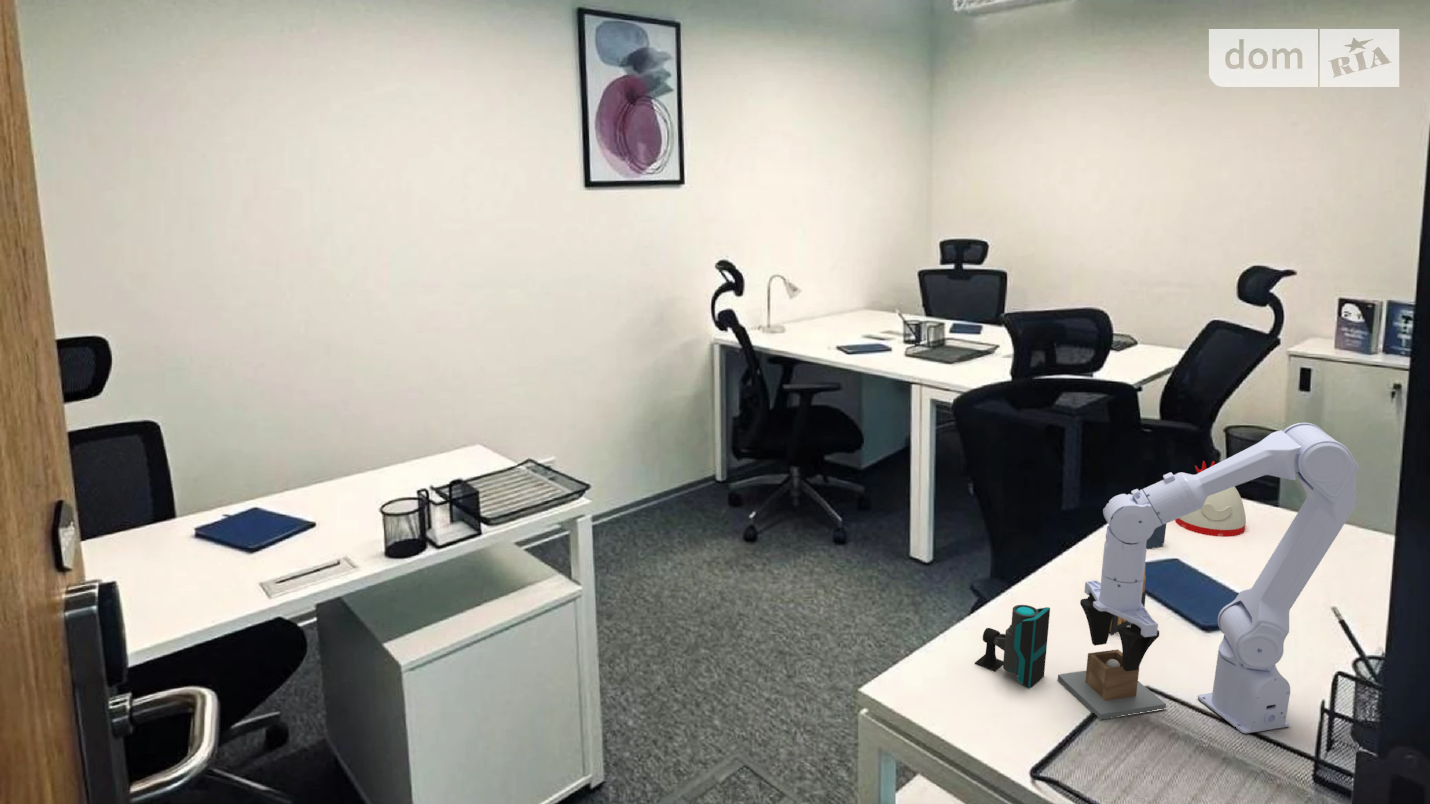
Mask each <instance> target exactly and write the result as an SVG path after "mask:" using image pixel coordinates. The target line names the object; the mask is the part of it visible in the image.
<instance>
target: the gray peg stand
mask: <svg viewBox="0 0 1430 804" xmlns="http://www.w3.org/2000/svg"><path fill="white" fill-rule="evenodd" d="M1106 665H1107V666H1108V667H1109V668H1114V667H1120V664H1119V662H1118V661H1117V660H1115V659H1110V660H1108V661H1107V662H1106ZM1085 679H1086V670H1081V671H1074V672H1068V673H1067V672H1066V673H1061V674H1057V681H1058V683H1059V684H1061V685H1062V686H1063V687H1064V688H1066V690H1067V691H1068V692H1069V693H1071V695H1073V696H1074V697H1075V698H1076V699H1077V700H1078V701H1079V702H1080V703H1081V704H1083V706H1084V707H1085V708H1087V710H1089V711H1090V712H1091V713H1092V714H1093V713H1095V715H1097V717H1098V718H1099V719H1105V720H1109V719H1108V718H1111V717H1117V716H1121V715H1128V714H1133V713H1140V712H1147V711H1152V710H1157V709H1164V708H1166V707H1167V703H1166V702H1165V701H1163V700H1162V699H1161V698H1159V696H1158V695H1156V694H1155V693H1153V692H1152V691H1151V690H1150V689H1148V688H1147V686H1145V685H1144V684H1143V683H1141V682H1140V681H1139V680H1138V684H1137V693H1136V696H1134V697H1127V698H1120V699H1113V700H1106V701H1105V700H1104V699H1103V698H1102V697H1101V696H1100V695H1099V694H1098V693H1097V692H1096V691H1094V690H1093V689H1092V688H1091V687H1090V686H1089V685H1088V684H1087V683H1086V682H1085ZM1095 715H1094V716H1095ZM1097 717H1096V718H1097ZM1098 718H1097V719H1098ZM1117 718H1118V717H1117ZM1099 719H1098V720H1099ZM1111 719H1112V718H1111Z"/></svg>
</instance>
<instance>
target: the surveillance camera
mask: <svg viewBox="0 0 1430 804" xmlns="http://www.w3.org/2000/svg"><path fill="white" fill-rule="evenodd" d="M1011 611H1012V612H1011V624H1010V625H1009V627H1008V628H1006V630H1005V632H1004V633H1001V631H999V630H996V629H993V628H991V627H986V628H985V629H984V631H983V633H982V641H983V642H984V643H986V648H985V654H983V656H981V657H980V658H978V659H977V660H976V661H975V662H974V665H976V666H979V667H981V668H984V669H986V670H989V671H991V672H993V673H994V672H997V670H999V669H1000V668H1001V667H1002V668H1003V671H1005V672H1007V673H1010V674H1012V675H1015V676H1016V677H1017V682H1018V683H1020V684H1021V685H1023V686H1024V687H1026V688H1028V689H1031V688H1033V687H1034V686H1036V684H1039V683H1038V682H1040V681H1041V680H1042V679H1043V678H1044V677H1045V669H1046V658H1047V650H1048V649H1047V648H1048V646H1047V645H1048V639H1049V638H1048V637H1049V636H1048V634H1049V623H1050V616H1051V615H1050V614H1051V607H1047V606H1046V607H1040V608H1039V607H1038V608H1035V607H1034V606H1033V605H1027V604H1017V605H1015V606H1013V607H1012V610H1011ZM996 647H998V648H999V649H1001V650H1002V651H1003V660H1002V659H999V658H997V656H996V655H997V654H996Z"/></svg>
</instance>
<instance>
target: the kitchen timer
mask: <svg viewBox="0 0 1430 804" xmlns="http://www.w3.org/2000/svg"><path fill="white" fill-rule="evenodd" d="M1220 462H1222V461H1220ZM1220 462H1219V463H1220ZM1215 463H1216V462H1215V461H1214V460H1213V461H1212V462H1211V463H1210V464H1211V465H1210V467H1212V466H1214V465H1216V464H1215ZM1194 467H1195V470H1196V472H1197V473H1196V474H1198V473H1200V472H1202V471H1204V470H1206V469H1208V468H1207V463H1206V462H1205V460H1203V461H1202V466H1201V469H1199V468H1198V466H1197V465H1194ZM1244 507H1245V506H1244V502H1243V500H1242V497H1241V494H1240V493H1239V491H1238V489H1237V488H1236V486H1234V487H1231V488H1229V489H1226V490H1223V491H1221V492H1218V493H1215V494H1213V495H1210V496H1208V497H1207V498H1206V501H1205V503H1204V505H1203V507H1202V508H1201V509H1199V510H1196V511H1194V512H1192V513H1189V514H1187V515H1185V516H1182V517H1180V518H1178V519H1176V520H1174V521H1175V523H1176V524H1177V525H1178V526H1179V527H1180V528H1183V529H1184V530H1187V531H1190V532H1192V533H1196V534H1201V535H1205V536H1212V537H1223V538H1224V537H1225V538H1226V537H1236V536H1240V535H1243V534H1244V533H1245V530H1246V523H1247V520H1246V511H1245V508H1244Z"/></svg>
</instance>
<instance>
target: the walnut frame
mask: <svg viewBox="0 0 1430 804" xmlns="http://www.w3.org/2000/svg"><path fill="white" fill-rule="evenodd" d="M1110 659H1115V660H1117V661H1118V662H1119V664H1120V667H1114V668H1109V667H1108V666H1107V665H1106V662H1107V661H1108V660H1110ZM1085 671H1086V679H1085V682H1086V683H1087V684H1088V685H1089V686H1090V687H1091V688H1092V689H1093V690H1094V691H1096V692H1097V693H1098V694H1099V695H1100V696H1101V697H1102V698H1103V699H1104V700H1105V701H1106V700H1113V699H1120V698H1127V697H1134V696H1136V693H1137V684H1138V681H1139V674H1140V673H1139V672H1140V667H1139V668H1138V670H1134V671H1125V670H1124V669H1123V665H1122V651H1121V650H1119V649H1111V650H1105V651H1104V650H1103V651H1096V652H1088V653H1087V659H1086V670H1085Z"/></svg>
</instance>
